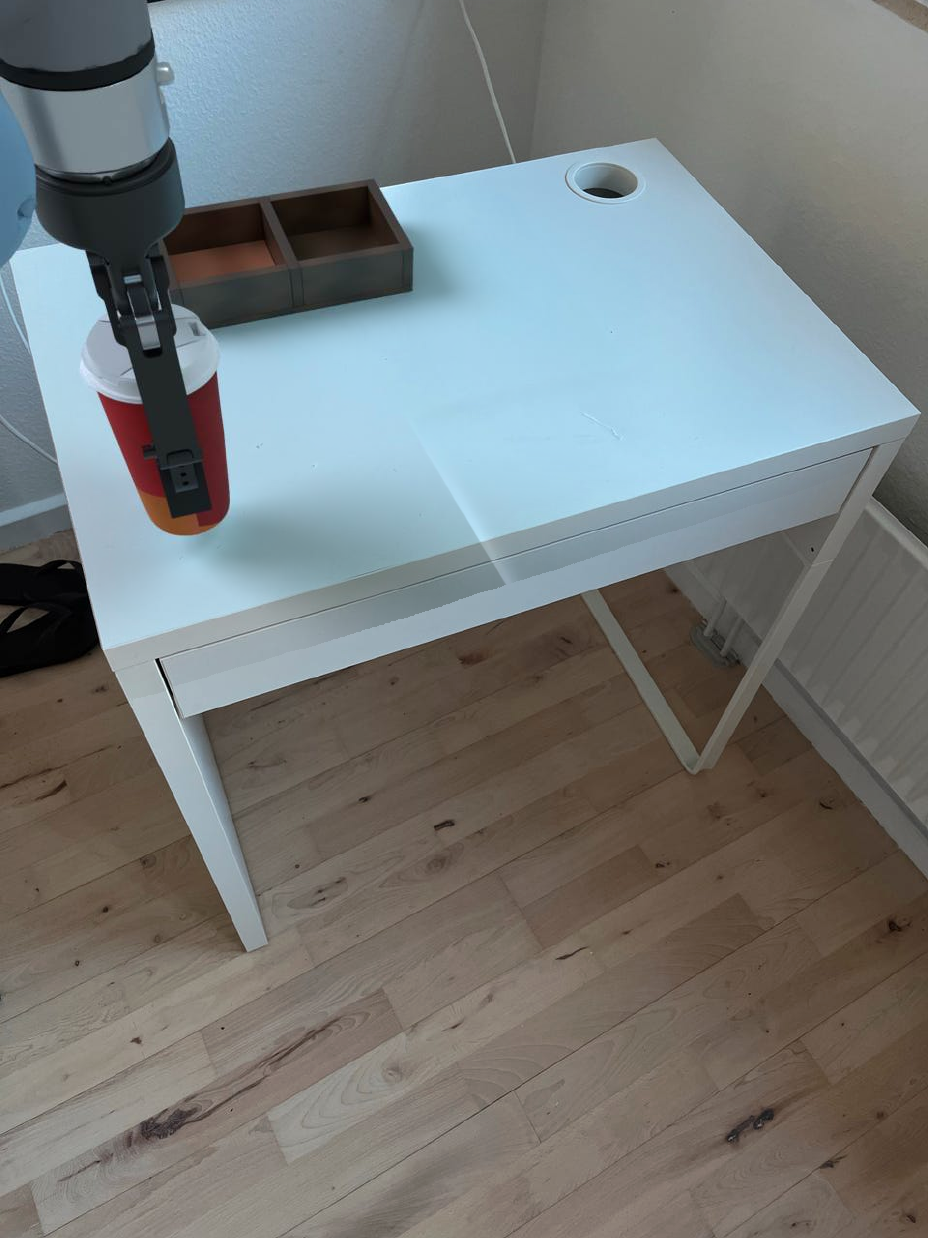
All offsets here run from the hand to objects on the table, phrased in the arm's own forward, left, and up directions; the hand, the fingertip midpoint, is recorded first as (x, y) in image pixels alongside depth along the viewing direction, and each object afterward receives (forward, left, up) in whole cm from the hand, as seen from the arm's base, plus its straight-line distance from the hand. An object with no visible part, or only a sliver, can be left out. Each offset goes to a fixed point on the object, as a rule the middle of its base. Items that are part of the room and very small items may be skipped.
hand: (177, 463), depth 65 cm
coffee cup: (0, 0, -4) cm, 4 cm away
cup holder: (+14, +28, -7) cm, 32 cm away
